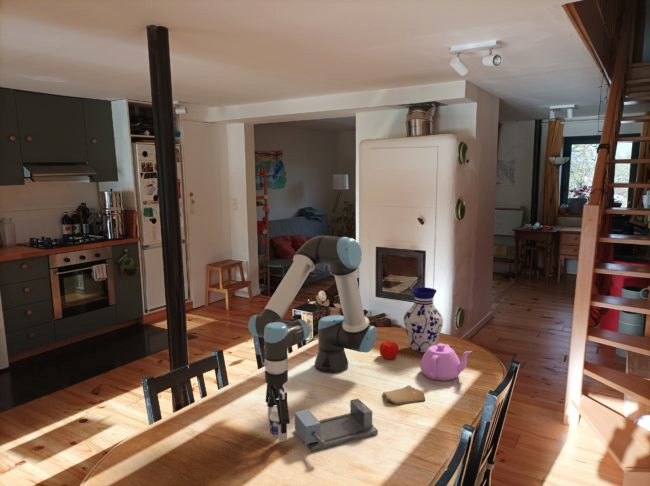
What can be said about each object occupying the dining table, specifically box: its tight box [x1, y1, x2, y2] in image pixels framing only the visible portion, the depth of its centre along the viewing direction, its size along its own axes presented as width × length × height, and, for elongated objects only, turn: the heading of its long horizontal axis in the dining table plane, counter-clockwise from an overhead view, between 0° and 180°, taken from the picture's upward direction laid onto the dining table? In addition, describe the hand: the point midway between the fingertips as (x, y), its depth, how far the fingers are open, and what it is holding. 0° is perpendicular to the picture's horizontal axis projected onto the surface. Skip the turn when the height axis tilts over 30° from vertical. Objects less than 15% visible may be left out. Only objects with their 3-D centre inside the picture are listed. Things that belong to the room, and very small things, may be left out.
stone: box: [382, 384, 426, 406], centre depth 183 cm, size 11×16×3 cm
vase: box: [403, 286, 444, 354], centre depth 231 cm, size 19×19×30 cm
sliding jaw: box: [294, 408, 325, 448], centre depth 150 cm, size 18×5×6 cm, turn 25°
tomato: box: [379, 340, 399, 360], centre depth 222 cm, size 9×9×8 cm
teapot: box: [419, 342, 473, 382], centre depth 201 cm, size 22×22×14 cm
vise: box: [295, 398, 379, 453], centre depth 158 cm, size 14×24×8 cm, turn 115°
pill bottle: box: [269, 405, 279, 438], centre depth 158 cm, size 5×5×9 cm
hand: (277, 432), depth 158 cm, fingers open, 10 cm apart
